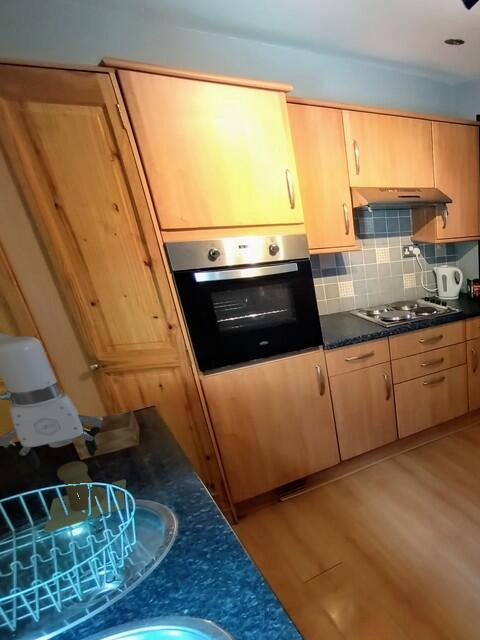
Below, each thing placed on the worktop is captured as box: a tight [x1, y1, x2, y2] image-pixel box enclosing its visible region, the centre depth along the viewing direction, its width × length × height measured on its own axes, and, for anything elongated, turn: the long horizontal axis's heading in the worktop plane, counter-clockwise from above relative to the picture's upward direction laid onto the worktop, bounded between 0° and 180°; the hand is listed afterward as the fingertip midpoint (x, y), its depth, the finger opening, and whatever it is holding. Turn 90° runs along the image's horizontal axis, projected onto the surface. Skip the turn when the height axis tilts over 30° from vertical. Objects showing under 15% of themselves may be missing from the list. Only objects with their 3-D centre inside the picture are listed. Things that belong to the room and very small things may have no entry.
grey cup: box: [48, 439, 73, 448], centre depth 135 cm, size 7×7×7 cm
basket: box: [72, 409, 140, 460], centre depth 135 cm, size 13×13×6 cm
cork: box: [56, 460, 104, 511], centre depth 108 cm, size 6×6×11 cm
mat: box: [44, 478, 127, 534], centre depth 110 cm, size 14×14×1 cm
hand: (65, 459), depth 105 cm, fingers open, 9 cm apart
